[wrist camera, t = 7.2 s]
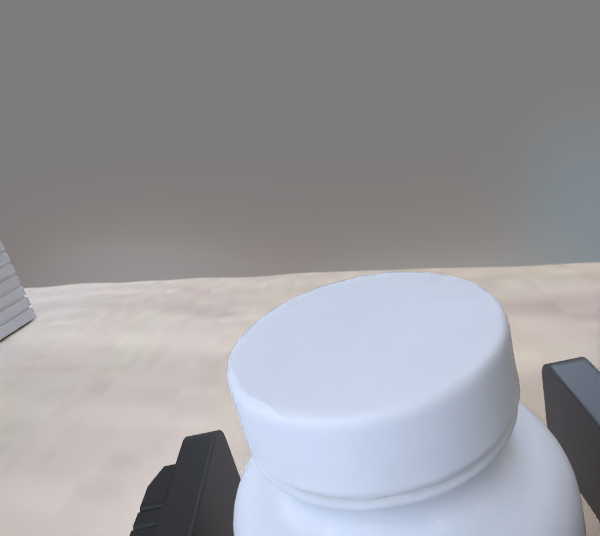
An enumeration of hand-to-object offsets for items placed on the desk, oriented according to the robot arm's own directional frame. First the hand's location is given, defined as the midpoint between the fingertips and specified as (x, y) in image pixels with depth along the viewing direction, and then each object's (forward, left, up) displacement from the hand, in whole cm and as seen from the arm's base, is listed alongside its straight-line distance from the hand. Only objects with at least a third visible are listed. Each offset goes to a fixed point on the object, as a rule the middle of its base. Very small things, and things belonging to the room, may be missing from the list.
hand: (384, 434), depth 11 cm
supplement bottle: (+1, -2, -6) cm, 7 cm away
